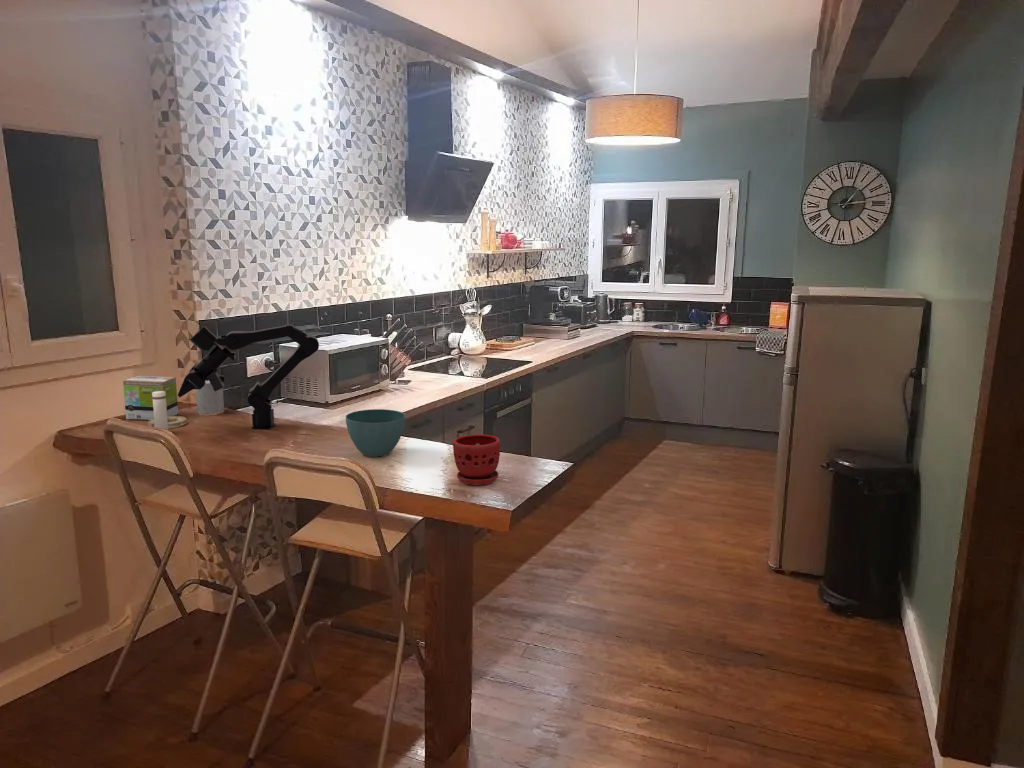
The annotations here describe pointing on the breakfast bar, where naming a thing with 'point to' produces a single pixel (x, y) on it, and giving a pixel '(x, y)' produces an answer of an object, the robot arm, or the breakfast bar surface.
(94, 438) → the breakfast bar surface
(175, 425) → the bead ring
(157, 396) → the needle peg
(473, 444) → the plant pot
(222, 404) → the gray cylinder
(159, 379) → the tea box
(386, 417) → the plant pot
